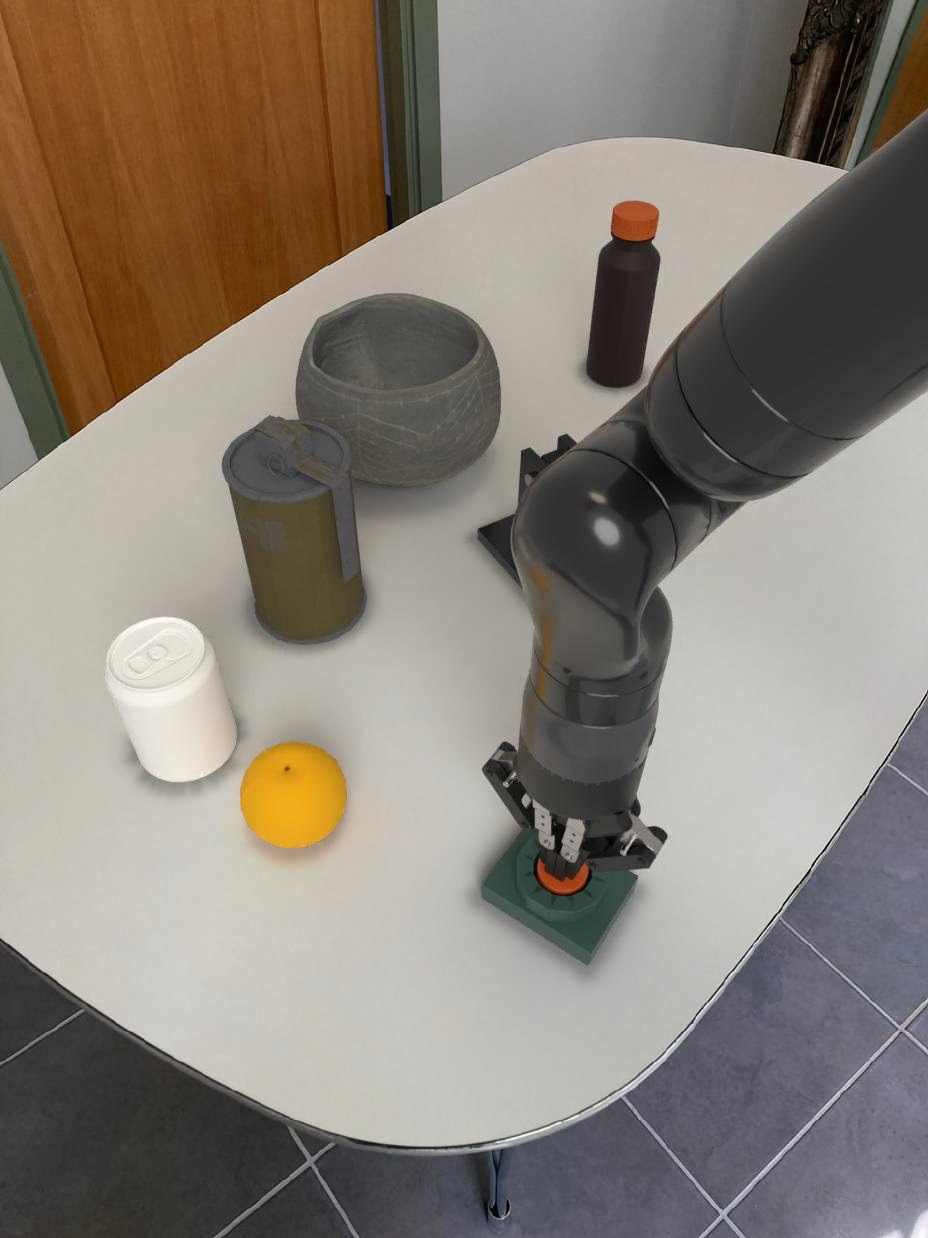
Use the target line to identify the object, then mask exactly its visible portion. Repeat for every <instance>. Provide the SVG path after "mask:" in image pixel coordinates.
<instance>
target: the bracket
mask: <svg viewBox="0 0 928 1238" xmlns="http://www.w3.org/2000/svg"><path fill="white" fill-rule="evenodd" d="M577 443H578V442H577V441H575V439H573V438H572V437H571V436H570V435H569V434H568V433H564V434H561V435H559V436H558V437H557V443H556V450H557V449H559V448H562V449H563V450H564V452H565V453H566V452H567V451H568V450H570V449H571V448H572V447H574V446H575V445H576V444H577ZM548 466H549V465H548V464H547V463H546V462H545V461H544V460H543V459H542V458H541V456H540V455H539V454H538V453H537V452H536V451H535V450H534V449H532V447H531V446H530V447H527V448H524V449H521V450H520V460H519V478H518V479H519V480H518V495H517V505H518V504H519V501H520V499H521V497H522V495H523V493H524V491H525V490H526V488H527V487H528V485H529V484H530V483H531V482H532V480H533V479H534V478H535V477H536V476H537V475H538V474H539V473H540V472H541V471H542V470H544V469H545V468H546V467H548ZM514 516H515V513H513V514H510V515H507V516H506V517H503V518H500V519H498V520H496V521H493V522H491V523H488V524H486V525H484V526H481V527H479V528H477V539H478V540H479V542H480V543H481V544H482V545H483V547H485V549H487V550H488V551H489V553H490V554H491V555H492V556H493V557H494V558H495V559H496V560H497V562H498V563H499V564H500V565H501V566H502V567H503V568H504V569H505V571H506V572H507V573H508V574H509V575H510V576H511V578H512V579H513V580H514V581H515V582H516V583H517V584H518V585H519V586H520V588H522V589H523V587H522V584H521V581H520V578H519V575H518V571H517V568H516V565H515V562H514V559H513V554H512V550H511V529H512V524H513V519H514Z"/></svg>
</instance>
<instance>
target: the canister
mask: <svg viewBox="0 0 928 1238" xmlns="http://www.w3.org/2000/svg"><path fill="white" fill-rule="evenodd" d="M262 419H263V418H262ZM351 458H352V455H351V449H350V446H349V445H348V443H347V441H346V439H345V438H344V437H343V436H342V435H341V434H340V433H339V432H338V431H336V430H334V429H332V428H330V427H328V426H326V425H324V424H321V423H319V422H313V421H307V420H299V419H286V418H284V417H281V416H280V415H278V416H274V415H271V414H269V415H268V416H266V417H265V418H264V419H263V420H261V421H259V423H257V424H255V426H253V427H252V428H249V429H248V430H246V431H245V432H243V433H241V434H239V435H238V436H237V437H236V438H234V439H233V440H232V441H231V442H230V443H229V445H228V447H227V448H226V450H225V452H224V454H223V456H222V457H221V466H220V467H221V473H222V475H223V478H224V480H225V482H226V483H227V486H228V489H229V494H230V498H231V502H232V506H233V511H234V516H235V520H236V524H237V528H238V533H239V537H240V541H241V545H242V550H243V555H244V559H245V563H246V567H247V571H248V576H249V580H250V584H251V589H252V593H253V598H254V613H255V616H256V620H257V622H258V623H259V625H260V626H261V628H262V629H263V630H265V631H266V632H267V633H268V634H269V635H271V636H272V637H274V638H275V639H276V640H277V639H278V640H280V641H283V642H286V643H289V644H295V645H297V644H298V645H311V644H320V643H325V642H329V641H331V640H334V639H336V638H339V637H340V636H342V635H344V634H346V632H347V633H348V631H350V630H351V629H352V628H353V627H354V626H355V625H356V624H357V623H358V622H359V620H361V617H362V616H363V614H364V611H365V608H366V604H367V594H366V589H365V587H364V583H363V573H362V564H361V555H360V545H359V544H360V543H359V535H358V526H357V517H356V507H355V497H354V487H353V478H352V476H351V468H350V466H351Z"/></svg>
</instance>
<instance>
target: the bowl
mask: <svg viewBox="0 0 928 1238" xmlns="http://www.w3.org/2000/svg"><path fill="white" fill-rule="evenodd" d="M303 343H304V344H303V346H302V348H301V349H302V350H301V353H300V356H299V361H298V366H297V371H296V377H295V389H294V390H295V393H294V396H295V407H296V411H297V412H296V413H297V417H298V420H307V421H313V422H319V423H321V424H324V425H326V426H328V427H330V428H332V429H334V430H336V431H338V432H339V433H340V434H341V435H342V436H343V437H344V438H345V439H346V441H347V443H348V445H349V446H350V449H351V455H352V458H351V466H350V468H351V478H352V477H353V478H355V479H358V480H360V481H364V482H368V483H374V484H378V485H386V486H392V487H397V488H398V487H401V488H403V487H404V488H413V487H424V486H428V485H433V484H437V483H439V482H442V481H444V480H447V479H449V478H452V477H454V476H456V475H458V474H459V473H461V472H462V471H465V470H466V469H468V468H469V467H470V466H472V465H473V464H474V463H475V462H477V460H478V459H480V457H482V456H483V455H484V454H485V452H486V451H487V449H488V448H489V447H490V445H491V444H492V442H493V441H494V439H495V436H496V434H497V431H498V428H499V426H500V423H501V416H502V415H501V414H502V393H501V392H502V386H501V374H500V373H501V372H500V368H499V362H498V359H497V356H496V353H495V350H494V348H493V346H492V343H491V342H490V339H489V337H488V336H487V334H486V333H485V331H484V330H483V328H482V327H480V325H479V323H478V322H477V321H476V320H474V319H473V318H472V317H470V316H469V315H468V314H466V313H465V312H463V311H461V310H460V309H458V308H456V307H454V306H450V305H449V304H446V303H444V302H440V301H437V300H434V299H431V298H428V297H424V296H422V295H421V296H420V295H417V294H412V293H403V292H402V293H401V292H391V293H389V292H387V293H386V292H385V293H378V294H374V295H373V294H372V295H368V296H364V297H361V298H357V299H354V300H352V301H350V302H348V303H346V304H343V305H341V306H340V307H338V308H336V309H334V310H331V311H330V312H327V313H325V314H323V315H321V316H319V317H317V319H316V320H315V322H314V324H313V325H312V327H311V329H310V331H309V333H308V335H307V337H306V338H305V341H304V342H303Z"/></svg>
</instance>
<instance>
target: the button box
mask: <svg viewBox="0 0 928 1238" xmlns="http://www.w3.org/2000/svg"><path fill="white" fill-rule="evenodd" d="M540 849H541V843H540V842H539V834H538V833H537V832H536V831H535V830H534V829H532V831H526V830H524V829H522V828H521V831H520V832H519V833H518V835H517V836H516V837H515V839H514V840H513V841H512V843H511V844H510V845H509V846H508V848H507V849H506V851H505V853H504V854H503V855H502V857H501V858H500V859H499V861H498V862H497V863H496V865H495V866H494V867H493V869H492V870H491V872H490V873H489V874H488V876H487V877H486V879H485V880H484V881H483V883H482V884H481V885H482V886H481V899H483V900H484V901H486V902H487V903H490V905H492V906H494V907H495V908H497V909H499V910H500V911H501V912H503V913H504V914H507V915H508V916H510V918H513V919H514V920H515V921H517V922H519V923H520V924H522V925H523V926H525V927H526V928H528V929H530V930H531V931H533V932H534V933H536V934H537V935H539V936H540V937H542V938H544V939H545V940H547V941H548V942H550V943H552V944H553V945H554V946H556V947H557V948H559V949H561V950H562V951H564V952H565V953H567V954H568V955H570V956H571V957H573V958H575V959H577V961H579V962H581V963H583V965H586V966H587V967H589V966H590V964H591V962H592V960H594V957H595V956H596V954H597V952H599V949H600V948H601V946H602V944H603V943H604V941H605V939H606V938H607V936H608V934H609V933H610V931H611V930H612V928H613V927H614V925H615V923H616V922H617V920H618V918H619V917H620V915H621V914H622V911H623V910H624V909H625V906H627V903H628V902H629V900H630V898H631V897H632V895H633V893H634V892H635V890H636V888H637V887H636V886H637V883H638V879H639V875H637V874H636V873H634V872H632V870H623V871H610V872H594V871H592V870H590V869H589V868H588V876H587V881H586V885H585V888H584V890H583V891H581V892H579V893H576V894H574V895H572V896H559V895H554V894H552V893H550V892H549V891H547V890H545V889H544V888H542V887H541V886H540V884H539V883H538V881H537V879H536V873H537V865H538V860H539V857H540Z"/></svg>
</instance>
